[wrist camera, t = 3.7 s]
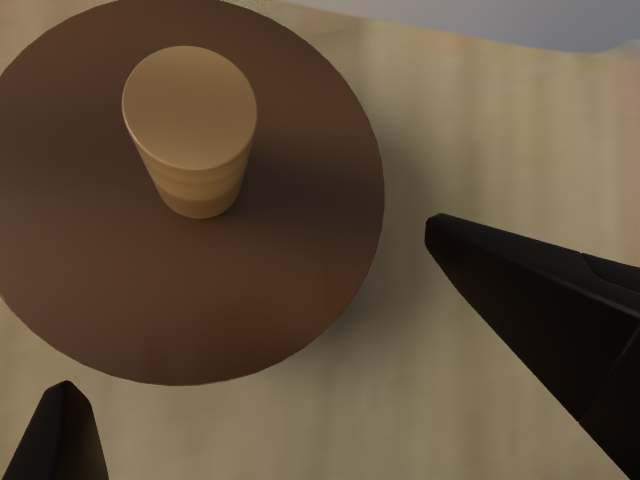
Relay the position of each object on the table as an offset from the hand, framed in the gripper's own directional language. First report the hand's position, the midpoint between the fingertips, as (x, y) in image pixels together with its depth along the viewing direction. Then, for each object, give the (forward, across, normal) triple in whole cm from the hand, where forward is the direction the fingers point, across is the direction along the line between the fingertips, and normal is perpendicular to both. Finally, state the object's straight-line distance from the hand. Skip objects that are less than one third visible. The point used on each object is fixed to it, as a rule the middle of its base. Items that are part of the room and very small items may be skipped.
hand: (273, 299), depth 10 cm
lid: (+8, 0, +1) cm, 8 cm away
